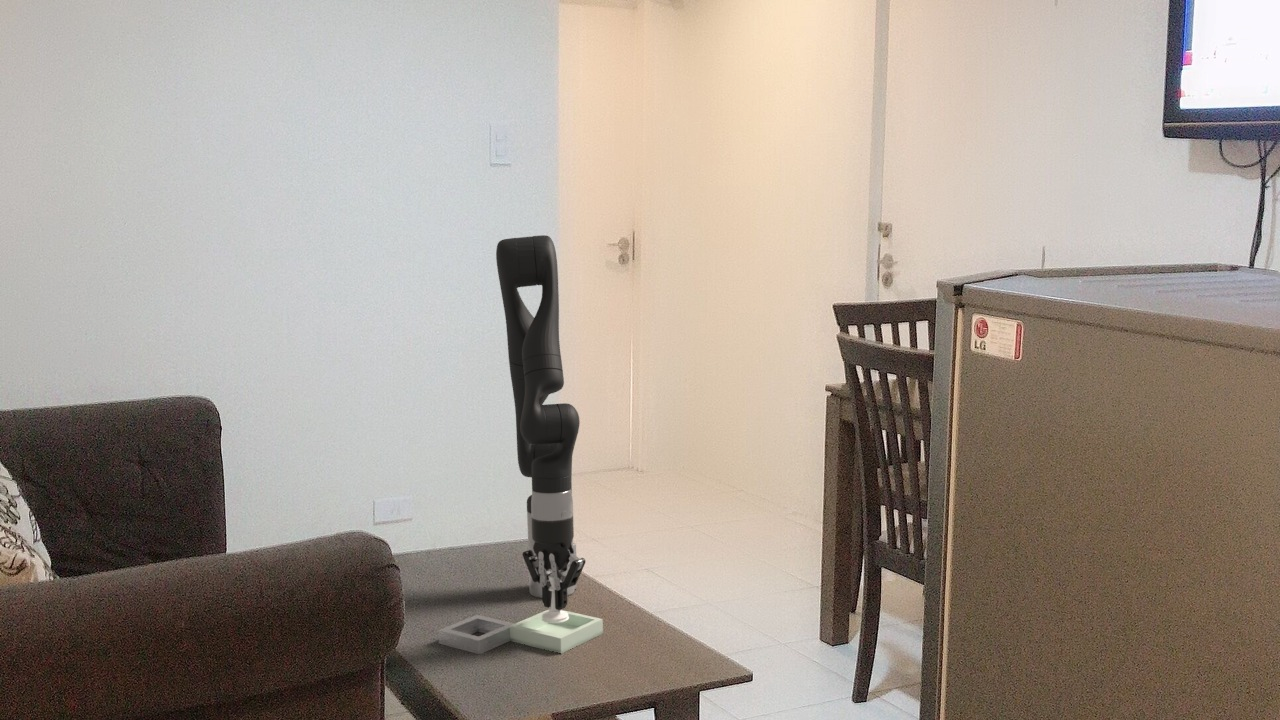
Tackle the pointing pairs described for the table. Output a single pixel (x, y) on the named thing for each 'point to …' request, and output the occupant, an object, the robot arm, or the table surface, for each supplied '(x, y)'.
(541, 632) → the tray
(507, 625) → the collar block
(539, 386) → the robot arm
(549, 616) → the chess piece
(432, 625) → the table surface
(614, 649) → the table surface
